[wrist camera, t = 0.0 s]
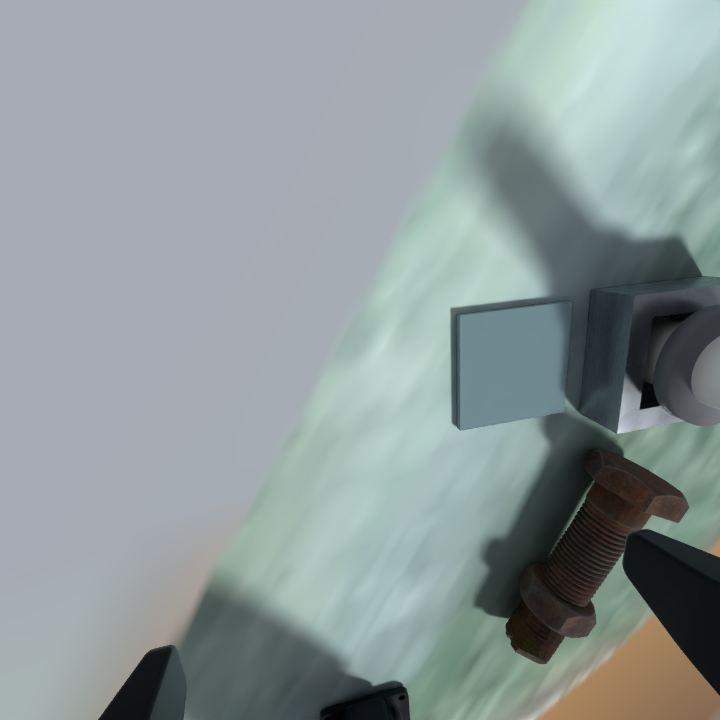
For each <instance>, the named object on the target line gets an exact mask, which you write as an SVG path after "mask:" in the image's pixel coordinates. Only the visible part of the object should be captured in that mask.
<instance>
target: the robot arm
mask: <svg viewBox="0 0 720 720" xmlns="http://www.w3.org/2000/svg"><path fill="white" fill-rule="evenodd" d="M622 564H623V569H624V572H625V574H626V575H627V577H628V578H629V580H630V581H631V582H632V584H633V585H634V587H635V588H636V589H637V591H638V592H639V593H640V595H641V596H642V597H643V599H644V600H645V602H646V603H647V604H648V606H649V607H650V608H651V610H652V611H653V612H654V614H655V615H656V616H657V618H658V619H659V621H660V622H661V623H662V625H663V626H664V627H665V629H666V630H667V631H668V633H669V634H670V635H671V637H672V638H673V639H674V641H675V642H676V643H677V645H678V646H679V647H680V649H681V650H682V651H683V653H684V654H685V655H686V656H687V658H688V659H689V660H690V661H691V662H692V664H693V665H694V666H695V667H696V668H697V670H698V671H699V672H700V673H701V674H702V675H703V677H704V678H705V679H706V680H707V681H708V682H709V684H710V685H711V686H712V687H713V688H714V690H715V691H717V693H718V694H719V695H720V557H717V556H715V555H712V554H710V553H707V552H705V551H702V550H700V549H697V548H695V547H692V546H690V545H687V544H685V543H682V542H680V541H677V540H675V539H672V538H670V537H667V536H664V535H662V534H659V533H657V532H654V531H652V530H648V529H643V530H639V531H635V532H631V533H629V534H628V535H627V537H626V542H625V548H624V555H623V562H622ZM185 699H186V678H185V674H184V671H183V667H182V664H181V660H180V657H179V654H178V650H177V648H176V647H175V646H174V645H167V646H163V647H159V648H155V649H152V650H150V651H149V652H148V653H146V655H145V656H144V657H143V659H142V660H141V661H140V663H139V664H138V666H137V667H136V668H135V670H134V671H133V672H132V674H131V675H130V677H129V678H128V679H127V681H126V682H125V683H124V685H123V686H122V687H121V689H120V690H119V692H118V693H117V694H116V696H115V697H114V699H113V700H112V701H111V703H110V704H109V705H108V707H107V708H106V709H105V711H104V712H103V714H102V715H101V717H100V718H99V719H98V720H183V719H184V709H185ZM320 720H410V714H409V697H408V693H407V689H406V688H405V687H399V688H395V689H392V690H388V691H385V692H381V693H378V694H374V695H371V696H368V697H364V698H361V699H357V700H354V701H350V702H347V703H343V704H340V705H336V706H333V707H330V708H326V709H324V710H322V711H321V712H320Z"/></svg>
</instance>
